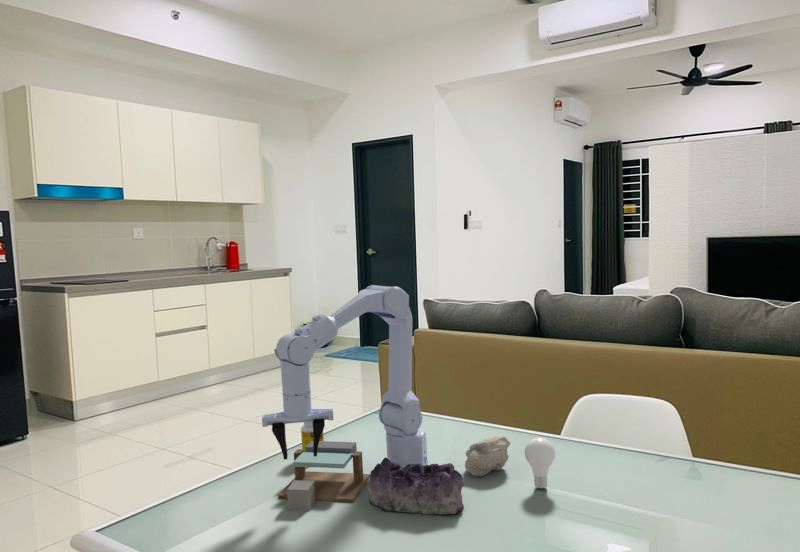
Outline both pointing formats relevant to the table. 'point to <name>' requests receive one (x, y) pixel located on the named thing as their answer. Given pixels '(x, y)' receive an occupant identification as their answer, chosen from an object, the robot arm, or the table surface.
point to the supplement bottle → (308, 434)
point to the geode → (416, 488)
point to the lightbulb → (540, 459)
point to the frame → (333, 481)
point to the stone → (301, 495)
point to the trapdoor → (327, 455)
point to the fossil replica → (487, 456)
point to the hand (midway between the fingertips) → (300, 456)
